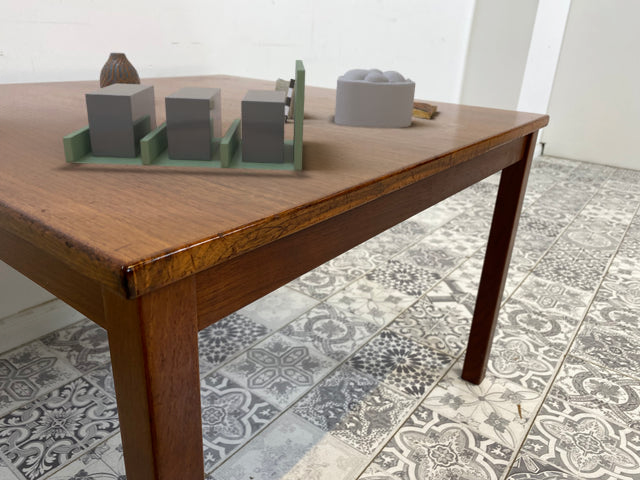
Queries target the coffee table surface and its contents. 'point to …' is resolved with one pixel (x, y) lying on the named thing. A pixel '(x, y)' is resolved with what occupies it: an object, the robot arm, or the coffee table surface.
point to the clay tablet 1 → (193, 123)
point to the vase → (118, 71)
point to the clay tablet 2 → (263, 126)
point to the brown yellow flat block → (423, 110)
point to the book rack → (224, 157)
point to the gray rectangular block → (120, 119)
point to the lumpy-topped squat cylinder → (374, 99)
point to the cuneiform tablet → (287, 96)
